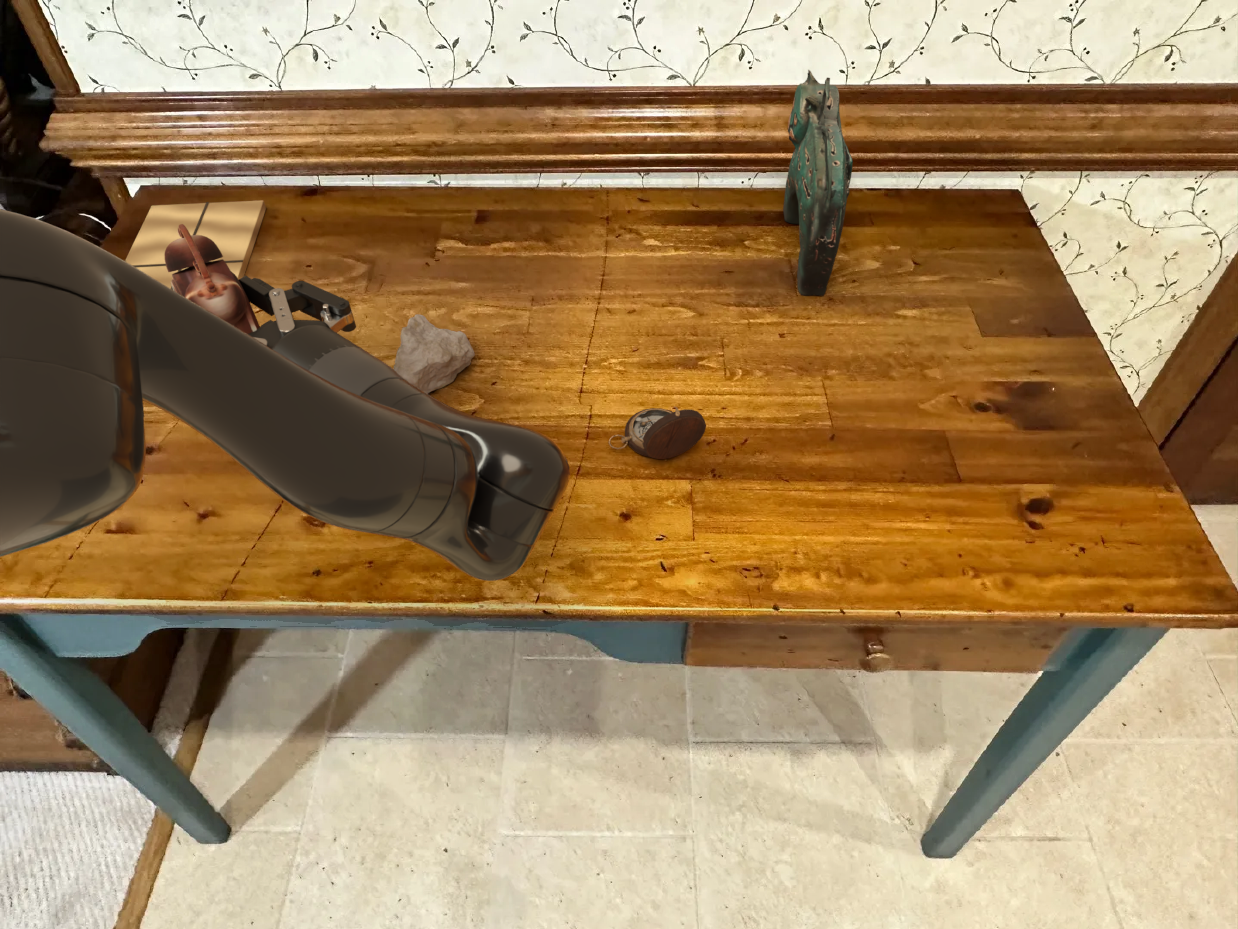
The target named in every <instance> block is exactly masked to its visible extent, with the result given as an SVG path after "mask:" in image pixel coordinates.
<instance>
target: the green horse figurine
mask: <svg viewBox="0 0 1238 929" xmlns="http://www.w3.org/2000/svg"><path fill="white" fill-rule="evenodd" d="M841 120H842V119H841V112H840V93H839V88H838V87H837V86H836V85H834V84H831V77H826V78H825V80H824V83H820V82H819V81H818V80H817V79H816V77H815V76H814V74H813V73H812V71H811V70H810V69H807V77H806V79H805V81H804V82H801V83H799V84H798V85H797V87H796V89H795V92H794V97H793V102H792V108H791V112H790V114H789V117H788V121H787V132H788V140H789V141H790V142H791V143H792V145H793V147H794V150H793V152H792V155H791V158H790V162H789V165H788V170H787V171H788V172H787V177H786V181H785V188H784V198H783V208H782V211H783V218H784V222H786V223H788V224H791V225H799V226H798V236H799V237H798V238H799V252H798V260H797V261H798V262H797V264H798V265H797V272H796V280H797V281H796V282H797V291H798V293H799V294H800V295H801V296H822V297H823V296H824V295H825V294H826V291H827V288H828V283H829V281H830V278H831V275H832V273H833V269H834V264H835V260H836V257H837V254H838V251H839V247H840V243H841V238H842V233H843V230H844V229H843V228H844V222H845V215H846V210H847V203H848V198H849V196H850V185H851V180H852V171H853V164H854V161H853V158H852V155H851V153H850V150H849V147H848V146H847V144H846V141H845V138H844V135H843V129H842V121H841Z"/></svg>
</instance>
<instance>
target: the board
mask: <svg viewBox="0 0 1238 929" xmlns="http://www.w3.org/2000/svg"><path fill="white" fill-rule="evenodd" d="M266 210H267V206H266V203H265V201H264V200H243V201H242V200H241V201H222V202H220V201H219V202H210V201H206V202H201V203H200V202H199V203H178V204H177V203H176V204H154V205H151V206H150V208H149V210H148V212H147V214H146V217H145V219H144V220H143V223H142V225H141V226H140V230H139V231H138V233H137V235H136V237H135V239H134V241H133V243H132V246H131V248H130V250H129V252H128V254H127V256H126V258H125V260H124V261H125V262H127V263H129V264H131V265H132V266H134V267H136V268H137V269H139V270H141V271H142V272H144V273H146V274H147V275H149V276H151V277H152V278H154V279H156V280H157V281H159V282H160V283H162V284H164V285H165V286H167V287H169V288H170V289H172V290H173V288H172V285H171V281H172V279H173V278H172V274H174V273H176V272H179V271H181V270H184V269H186V268H184V269H181V270H177V271H172V272H168V270H167V267H166V263H165V257H164V253H165V250H166V248H167V246H168V245H169V244H170V243H171V242H173V241H174V240H177V239H180V238H181V237H180V236H179V234H178V232H177V231H178V228H179V225H180V224H183V225H185V227H186V228H187V230H188V231H189V233H190V235H202V236H205V237H208V238H209V239H211V240H212V241H213V242H214V243H215V244H216V245H217V247H218V248H219V250H220V251H221V253H222V255H223V257H222V258H219V259H216V260H212V261H217V260H222V259H223V260H224V261H225V262H226V264H227V266H228V267H229V269H230V271H231V272H233V273H234V274H235V275H236V277H237V278H238V280H239V279H241V278H242V277H244V276H245V274H246V271H247V268H248V265H249V262H250V259H251V256H252V253H253V250H254V247H255V244H256V240H257V238H258V235H259V231H260V229H261V226H262V223H263V220H264V216H265V214H266ZM212 261H209V262H212ZM188 268H189V267H188Z"/></svg>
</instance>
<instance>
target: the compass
mask: <svg viewBox="0 0 1238 929" xmlns="http://www.w3.org/2000/svg"><path fill="white" fill-rule="evenodd" d="M673 408H675V409H674V411H671V410H669V409H665V408H659V407H657V408H656V407H655V408H654V407H651V408H646V409H642V410H639V411H637V412H635V413H634V414H633V415H632V416H631V417H629V419H628V421H627V422H626V424H625V429H624V435H622V434H614V435H612V436H610V438H609V439H608V445H609V446H610V448H611V449H614V450H622V449H624V448H626V447H627V445H628V446H629V447H630V448H631V449H632V450H633V451H634V452H635V453H637V454H638V455H641V456H644V457H648V458H652V459H656V460H666V459H671V458H675V457H677V456H680V455H682V454H684V453H685V452H687V451H689V450H690V449H692V448H693V447H694V446H695V445H697V443H698V442H700V440H701V439H702V437H703V436H704V434H705V432H706V429H707V424H706V420H705V418H704V417H703V415H702V414H701V413H700V412H699V411H698V410H694V409H688V408H687V409H680V410H679V408H678V407H677V406H673ZM616 437H621V438H620V441H621V443H622V444H624V445H623V446H620V447H616V446H614V445H613V444H611V440H612V439H613V438H616Z"/></svg>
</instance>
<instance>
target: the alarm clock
mask: <svg viewBox="0 0 1238 929" xmlns="http://www.w3.org/2000/svg"><path fill="white" fill-rule="evenodd" d="M177 232H178V234H179V236H180V237H181V238H180V239H177V240H174V241H173V242H171V243H170V244H169V245H168V246H167V248H166V250H165V253H164V257H165V263H166V267H167V270H168V272H172V271H177V270H181V269H184V268H186V269H184V270H181V271H179V272H176V273H174V274H172V278H173V279H172V281H171V285H172V288H173V290H174V291H175V292H177V293H179V294H180V295H182V296H184V297H185V298H187V299H189V300H190V301H192V302H194V303H196V304H197V305H199V306H201V307H203V308H204V309H206V310H208V311H209V312H211V313H213V314H215V315H216V316H218V317H220V318H222V319H223V320H225V321H227V322H228V323H230V324H232V325H233V326H235V327H237V328H238V329H240V330H242V331H243V332H245V333H247V334H249V333H251V332H254V331H256V330H257V329H258V328H259V327H260V326H261V325H260V323H259V321H258V319H257V316H256V314H255V311H254V309H253V307H252V305H251V304H252V303H250V302H249V300H248V298H247V296H246V294H245V291H244V289H243V287H242V285H241V283H240V282H239V280H238V278H237V277H236V275H235V274H234V273H233V272H231V271H230V269H229V267H228V266H227V264H226V262H225V261H224V260H223V259H222V260H217V261H212V260H216V259H219V258H222V257H223V255H222V253H221V251H220V250H219V248H218V247H217V245H216V244H215V243H214V242H213V241H212V240H211V239H209V238H208V237H205V236H202V235H190V233H189V231H188V230H187V228H186V227H185V225H183V224H180V225H179V228H178V231H177ZM209 261H212V262H209ZM188 267H189V268H188Z"/></svg>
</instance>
